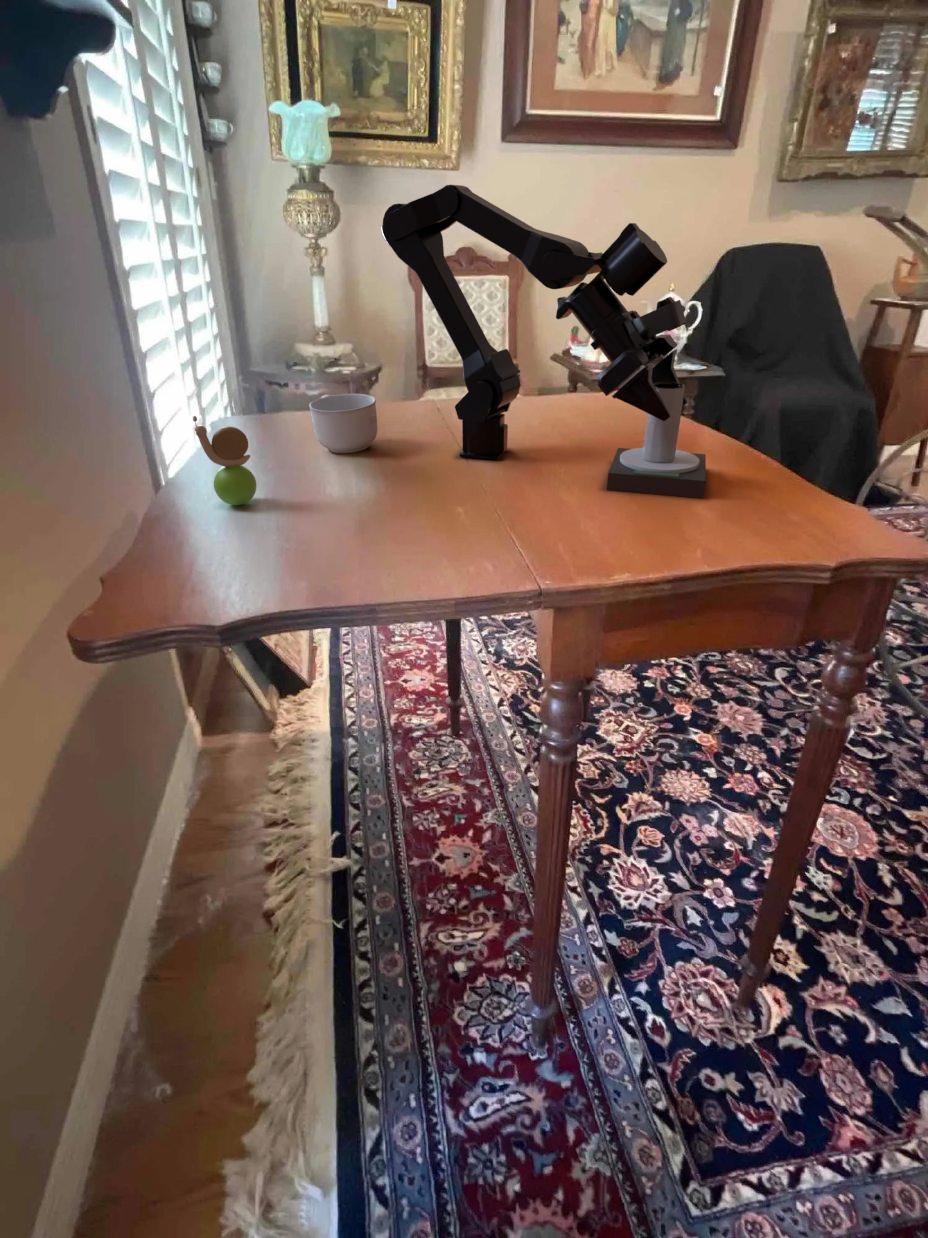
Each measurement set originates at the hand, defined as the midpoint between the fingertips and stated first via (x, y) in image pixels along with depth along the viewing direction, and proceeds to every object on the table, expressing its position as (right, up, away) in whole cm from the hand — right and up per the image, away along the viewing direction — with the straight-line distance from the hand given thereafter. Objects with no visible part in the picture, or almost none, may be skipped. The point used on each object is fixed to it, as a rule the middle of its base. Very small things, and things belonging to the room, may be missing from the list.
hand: (676, 411), depth 95 cm
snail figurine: (-60, -13, -2) cm, 62 cm away
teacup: (-50, +1, +22) cm, 54 cm away
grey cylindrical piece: (-1, -6, +4) cm, 7 cm away
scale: (-1, -8, +5) cm, 10 cm away
